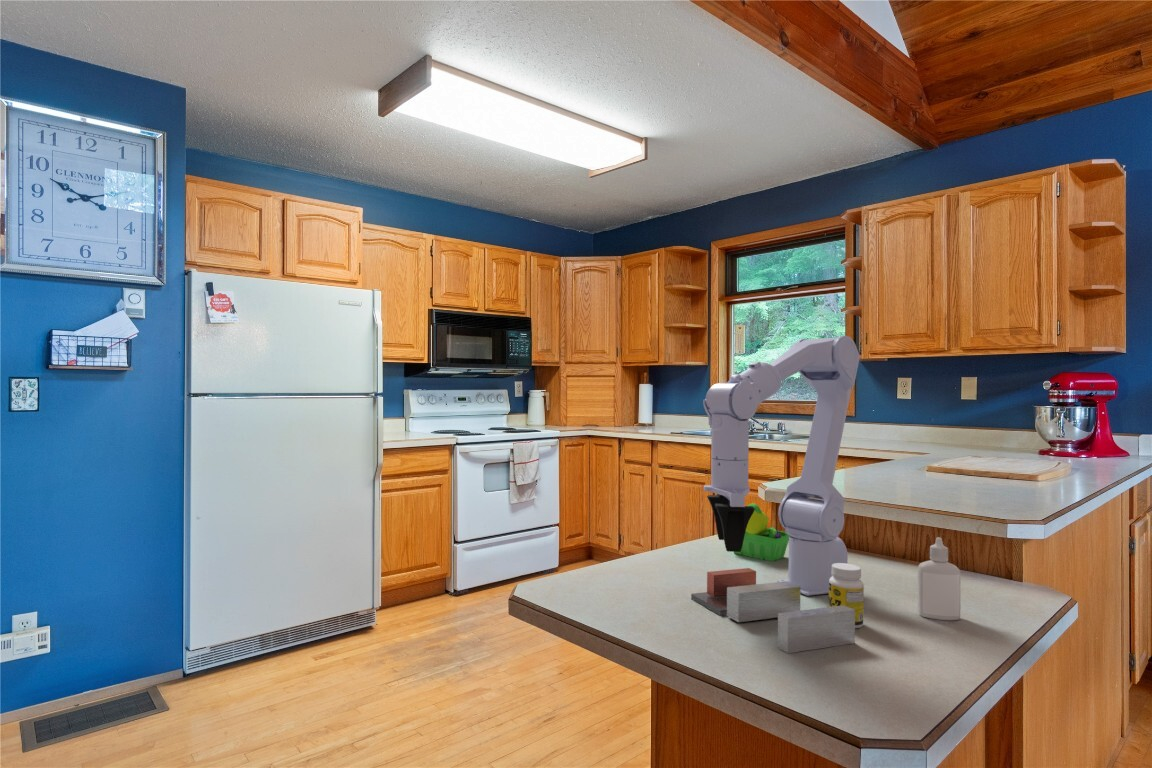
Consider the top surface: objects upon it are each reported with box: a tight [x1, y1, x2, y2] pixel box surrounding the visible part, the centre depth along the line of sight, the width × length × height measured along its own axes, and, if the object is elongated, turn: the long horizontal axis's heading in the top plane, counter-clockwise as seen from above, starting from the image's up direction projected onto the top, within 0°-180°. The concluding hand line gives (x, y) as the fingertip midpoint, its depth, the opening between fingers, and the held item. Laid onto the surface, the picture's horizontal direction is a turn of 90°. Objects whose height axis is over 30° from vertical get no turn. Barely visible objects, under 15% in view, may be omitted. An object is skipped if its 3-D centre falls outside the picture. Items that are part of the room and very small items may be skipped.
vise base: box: [690, 591, 727, 617], centre depth 103 cm, size 12×8×1 cm
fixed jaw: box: [777, 605, 856, 654], centre depth 86 cm, size 11×2×4 cm, turn 110°
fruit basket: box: [733, 502, 789, 562], centre depth 135 cm, size 11×9×11 cm
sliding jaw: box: [706, 567, 801, 623], centre depth 101 cm, size 11×11×4 cm
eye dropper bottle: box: [917, 536, 961, 621], centre depth 99 cm, size 4×6×12 cm
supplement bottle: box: [828, 563, 865, 629], centre depth 95 cm, size 5×5×8 cm
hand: (729, 545), depth 101 cm, fingers open, 7 cm apart
